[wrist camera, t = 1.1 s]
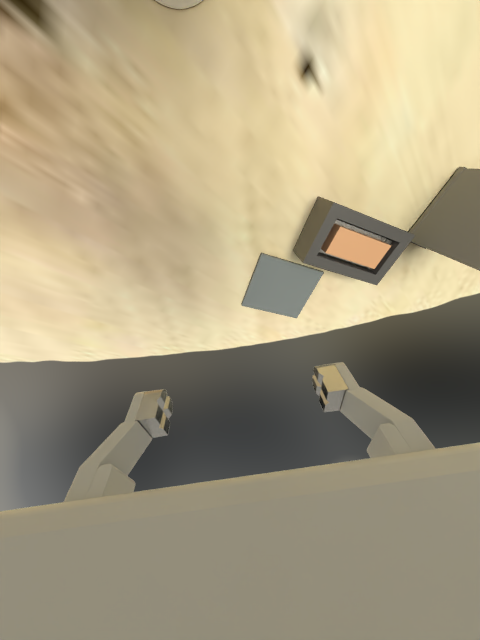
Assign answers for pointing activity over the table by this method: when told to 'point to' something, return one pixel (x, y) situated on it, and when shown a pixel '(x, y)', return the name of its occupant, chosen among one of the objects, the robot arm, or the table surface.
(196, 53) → the table surface
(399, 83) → the table surface
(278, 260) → the mat
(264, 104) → the table surface
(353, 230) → the plate
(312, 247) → the pocket block
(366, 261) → the tile
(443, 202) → the grey flat-topped box
